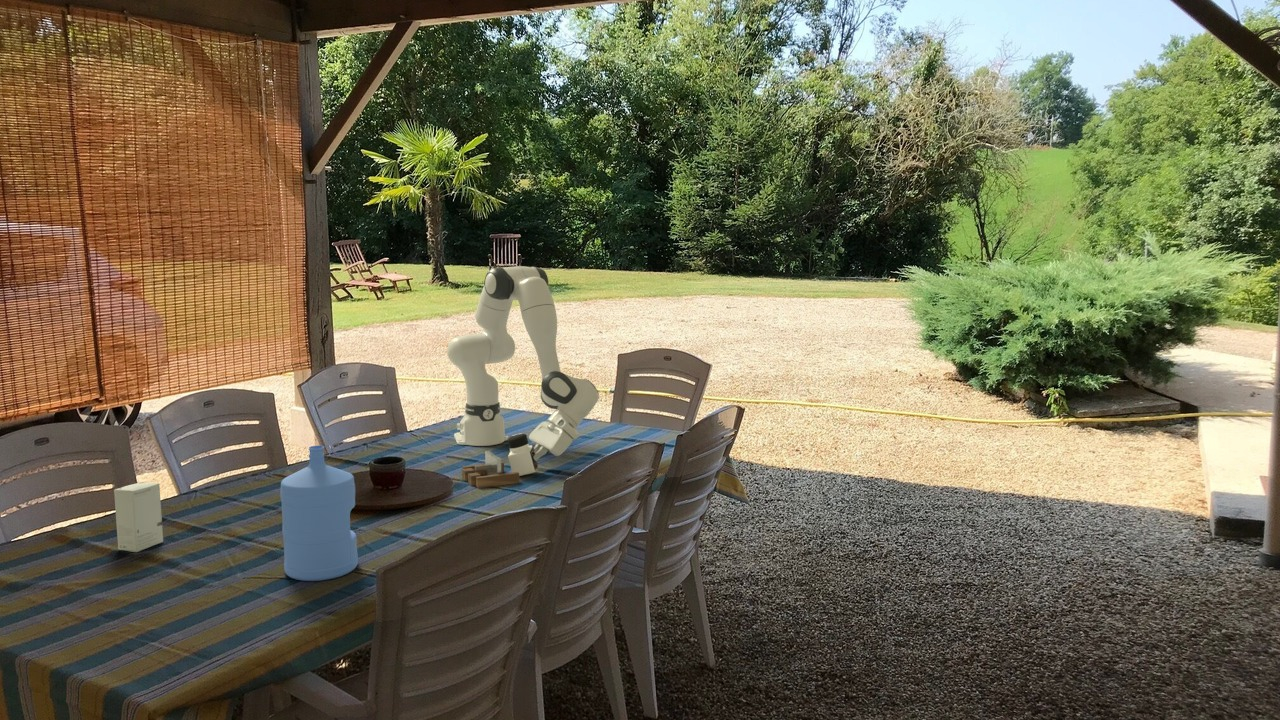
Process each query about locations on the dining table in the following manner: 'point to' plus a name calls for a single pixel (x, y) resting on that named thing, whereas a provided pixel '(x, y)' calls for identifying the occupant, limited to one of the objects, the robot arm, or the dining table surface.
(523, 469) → the medicine bottle
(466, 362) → the robot arm
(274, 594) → the dining table surface
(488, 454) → the block
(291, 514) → the water jug
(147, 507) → the skincare box
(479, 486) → the lane
